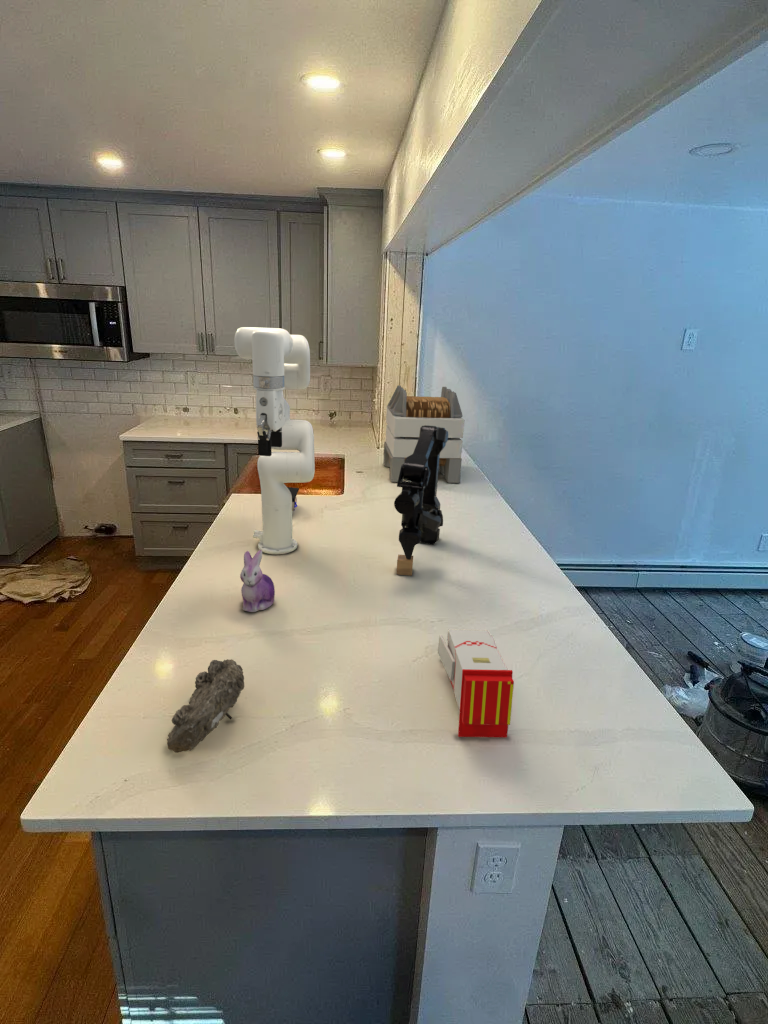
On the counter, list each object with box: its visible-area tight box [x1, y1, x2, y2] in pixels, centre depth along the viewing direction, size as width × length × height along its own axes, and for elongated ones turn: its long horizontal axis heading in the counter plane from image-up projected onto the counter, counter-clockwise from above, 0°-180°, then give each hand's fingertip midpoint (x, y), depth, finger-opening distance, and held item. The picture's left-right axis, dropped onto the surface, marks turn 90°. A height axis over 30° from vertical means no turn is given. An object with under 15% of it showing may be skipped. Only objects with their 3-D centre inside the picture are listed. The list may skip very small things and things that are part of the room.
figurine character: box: [286, 486, 300, 512], centre depth 216 cm, size 7×8×15 cm
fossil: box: [166, 658, 245, 754], centre depth 106 cm, size 22×10×15 cm
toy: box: [437, 628, 515, 738], centre depth 117 cm, size 12×13×30 cm
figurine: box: [239, 549, 276, 613], centre depth 146 cm, size 9×10×15 cm
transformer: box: [383, 384, 465, 484], centre depth 268 cm, size 34×33×41 cm
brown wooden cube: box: [396, 554, 414, 577], centre depth 170 cm, size 4×5×5 cm
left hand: (270, 451), depth 145 cm, fingers open, 9 cm apart
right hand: (409, 553), depth 169 cm, fingers open, 9 cm apart
